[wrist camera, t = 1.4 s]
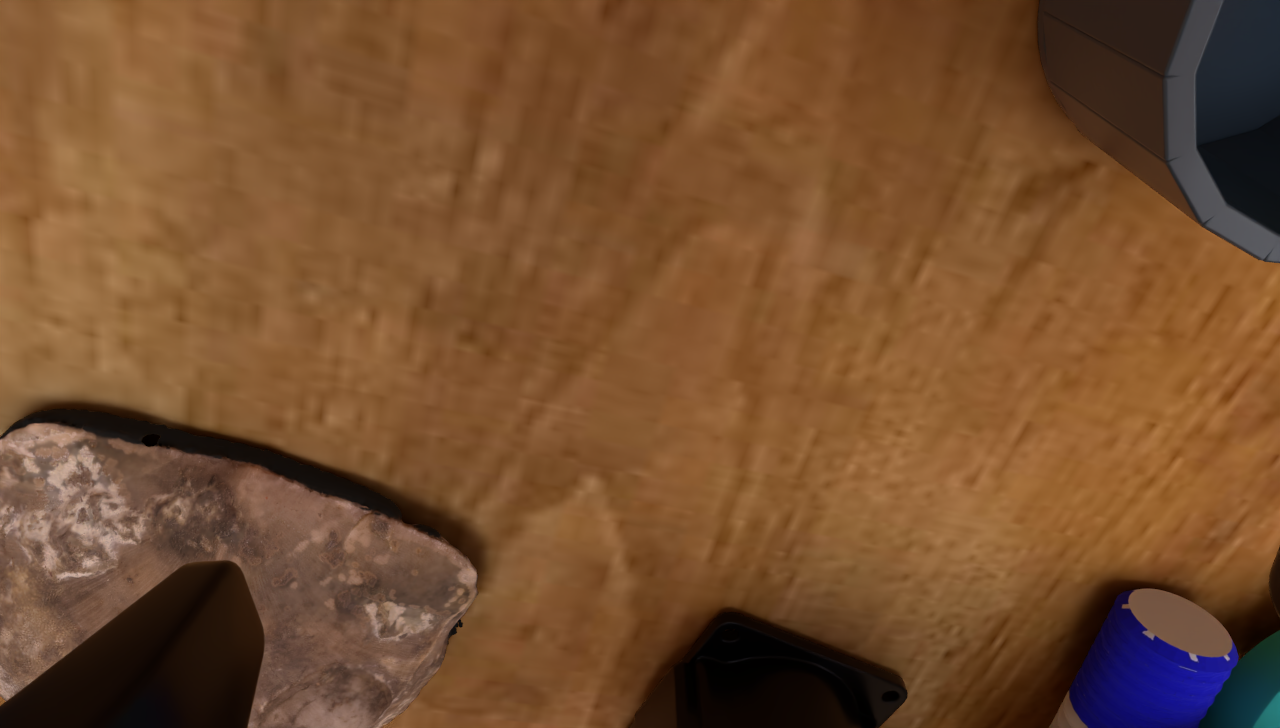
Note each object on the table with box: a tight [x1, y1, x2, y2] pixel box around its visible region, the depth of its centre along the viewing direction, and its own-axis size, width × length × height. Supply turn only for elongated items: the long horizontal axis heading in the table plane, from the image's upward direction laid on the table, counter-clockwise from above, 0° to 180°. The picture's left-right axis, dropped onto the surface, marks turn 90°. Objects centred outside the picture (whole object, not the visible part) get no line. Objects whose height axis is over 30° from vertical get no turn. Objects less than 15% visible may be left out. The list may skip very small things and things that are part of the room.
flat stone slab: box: [0, 409, 478, 728], centre depth 26 cm, size 12×13×4 cm
